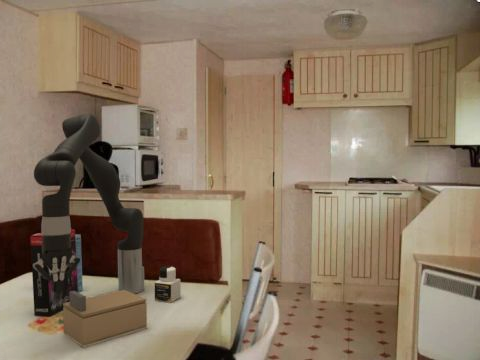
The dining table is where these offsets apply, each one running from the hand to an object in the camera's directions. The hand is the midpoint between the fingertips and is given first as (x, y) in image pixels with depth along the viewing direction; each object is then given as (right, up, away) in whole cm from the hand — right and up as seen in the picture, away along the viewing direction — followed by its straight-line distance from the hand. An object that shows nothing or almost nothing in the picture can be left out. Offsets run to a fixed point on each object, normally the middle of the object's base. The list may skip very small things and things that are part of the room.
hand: (57, 293), depth 121 cm
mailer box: (+10, -14, +10) cm, 20 cm away
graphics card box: (-14, -14, +31) cm, 37 cm away
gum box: (-22, -13, +54) cm, 59 cm away
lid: (+10, -6, +10) cm, 15 cm away
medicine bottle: (+24, -13, +41) cm, 49 cm away
